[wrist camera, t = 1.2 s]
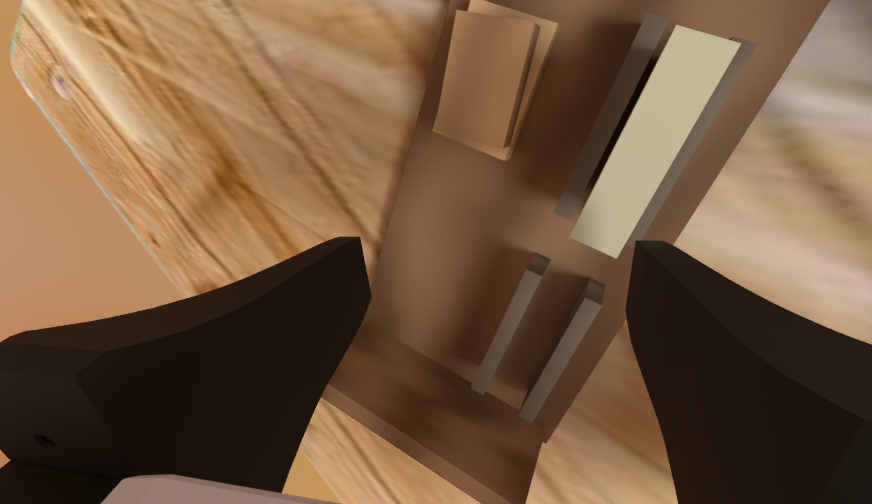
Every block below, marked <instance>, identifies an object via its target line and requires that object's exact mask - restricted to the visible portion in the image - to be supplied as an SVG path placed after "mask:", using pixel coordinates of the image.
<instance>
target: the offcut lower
mask: <svg viewBox="0 0 872 504" xmlns="http://www.w3.org/2000/svg"><path fill="white" fill-rule="evenodd" d="M468 12H474V13H480V14H487V15H493V16H499V17H506V18H512V19H518V20H524V21H531V22H535V23H536V24H538V25H539V26H540V27H541V28H540V32H539V36H538V40H537V43H536V47H535V51H534V55H533V59H532V63H531V67H530V70H529V74H528V78H527V82H526V86H525V90H524V94H523V97H522V101H521V105H520V109H519V113H518V117H517V121H516V125H515V128H514V132H513V136H512V140H511V144H510V146H509V147H506V148H499V147H496V146H492V145H488V144H484V143H480V142H477V141H473V140H469V139H465V138H461V137H458V136H454V135H450V134H446V133H443V132H439V131H435V126H436V120H437V116H436V120H435V123H434V126H433V130H432V131H434V132H436V133H439V134H441V135H443V136H446V137H448V138H451V139H453V140H455V141H458V142H460V143H463V144H465V145H467V146H470V147H472V148H475V149H477V150H479V151H482V152H484V153H487V154H489V155H491V156H494V157H496V158H499V159H501V160H504V161H505V160H507V159H510V158H511V156H512V154H513V151H514V149H515V146H516V144H517V141H518V139H519V136H520V133H521V131H522V128H523V126H524V123H525V121H526V118H527V116H528V113H529V111H530V108H531V106H532V103H533V100H534V98H535V95H536V93H537V90H538V88H539V85H540V83H541V80H542V78H543V75H544V73H545V70H546V67H547V65H548V62H549V60H550V57H551V55H552V52H553V50H554V47H555V45H556V42H557V39H558V37H559V34H560V32H561V29H562V27H561V26H560V25H559V24H558V23H555V22H552V21H549V20H546V19H542V18H539V17H536V16H533V15H529V14H526V13H523V12H520V11H516V10H513V9H510V8H507V7H503V6H500V5H497V4H494V3H490V2H487V1H484V0H471V1H470V5H469V8H468ZM437 115H438V113H437Z"/></svg>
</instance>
